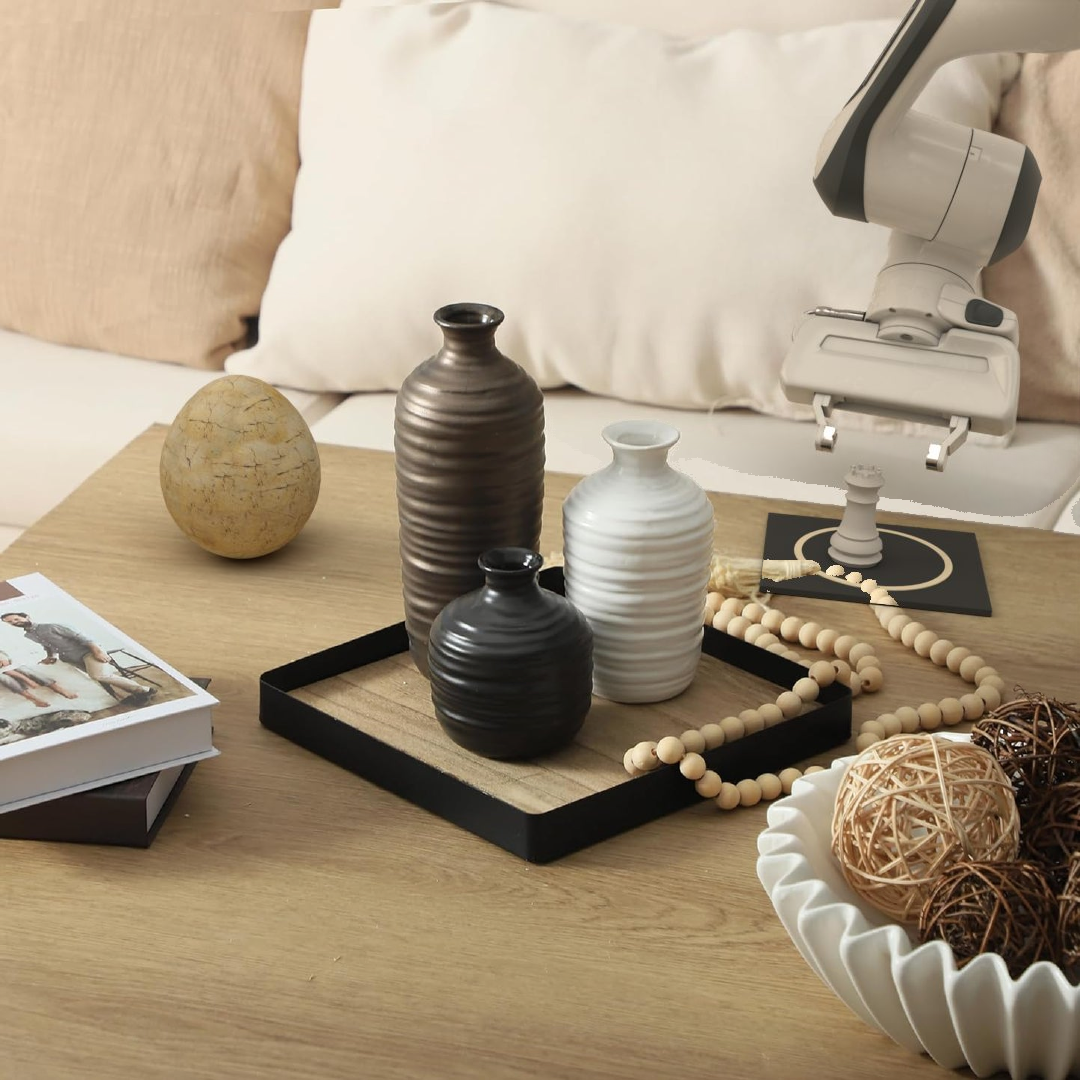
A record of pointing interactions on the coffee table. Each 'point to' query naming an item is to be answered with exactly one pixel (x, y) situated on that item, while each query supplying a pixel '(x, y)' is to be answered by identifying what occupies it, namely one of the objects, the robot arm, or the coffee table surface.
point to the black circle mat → (884, 565)
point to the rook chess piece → (859, 520)
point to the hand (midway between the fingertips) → (878, 458)
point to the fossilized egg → (240, 468)
